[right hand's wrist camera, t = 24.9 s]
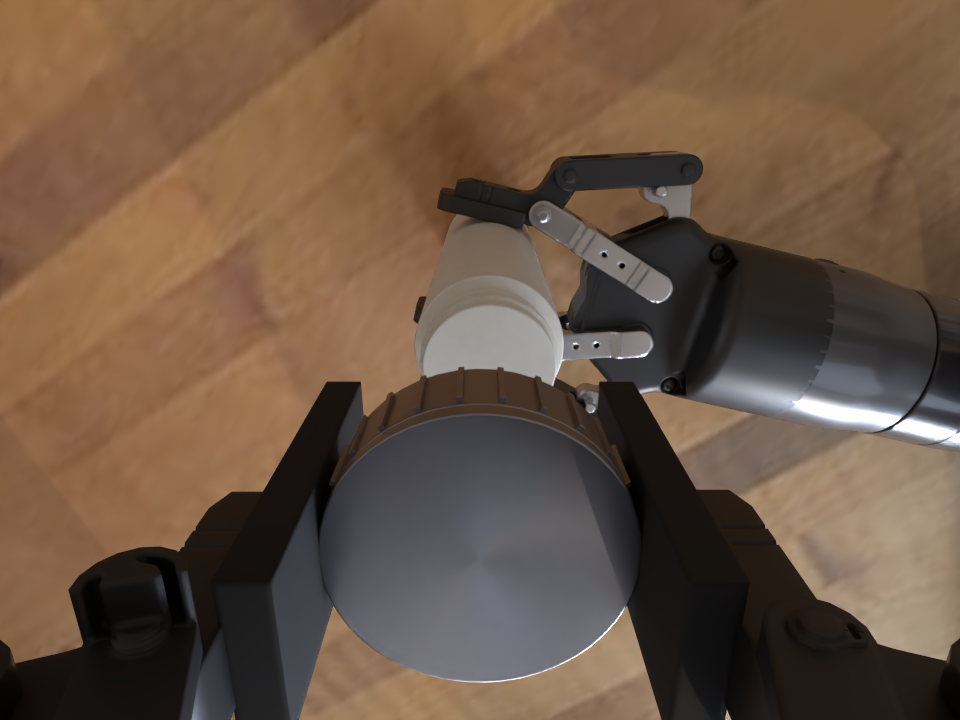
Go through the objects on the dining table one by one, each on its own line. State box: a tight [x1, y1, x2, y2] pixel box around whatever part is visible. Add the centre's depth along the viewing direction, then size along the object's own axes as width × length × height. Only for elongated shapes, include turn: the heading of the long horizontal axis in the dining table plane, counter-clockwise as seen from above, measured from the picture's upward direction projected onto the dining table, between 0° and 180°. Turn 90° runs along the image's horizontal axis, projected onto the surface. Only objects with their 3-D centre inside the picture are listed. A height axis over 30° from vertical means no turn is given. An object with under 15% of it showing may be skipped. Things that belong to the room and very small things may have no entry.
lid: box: [318, 367, 642, 682], centre depth 11 cm, size 6×6×2 cm
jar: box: [415, 214, 564, 386], centre depth 26 cm, size 4×4×18 cm
